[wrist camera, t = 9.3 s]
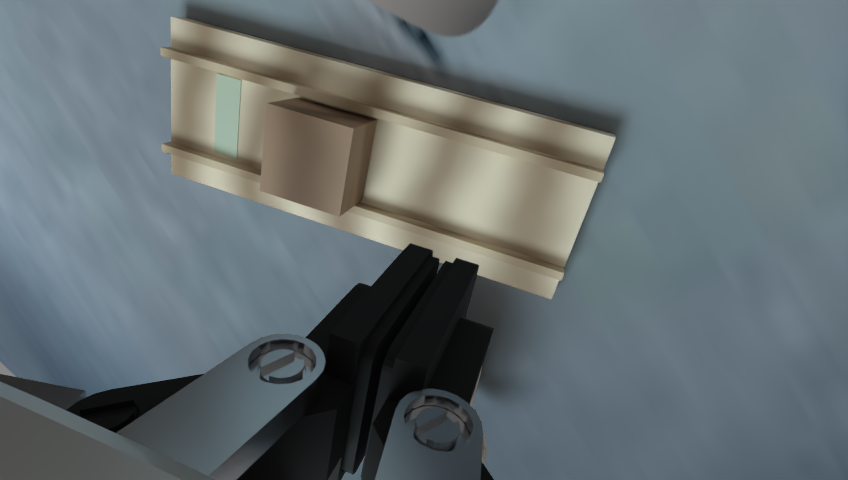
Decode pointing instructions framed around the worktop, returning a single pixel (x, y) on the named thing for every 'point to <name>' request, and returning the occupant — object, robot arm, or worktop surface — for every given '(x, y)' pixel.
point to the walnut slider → (315, 154)
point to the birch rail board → (393, 153)
